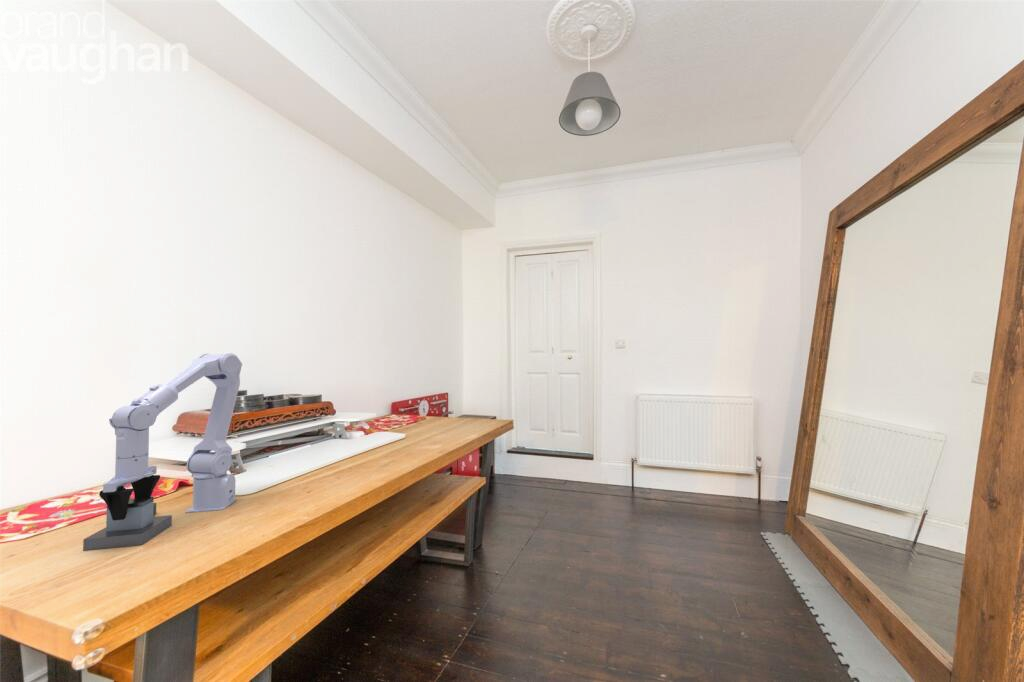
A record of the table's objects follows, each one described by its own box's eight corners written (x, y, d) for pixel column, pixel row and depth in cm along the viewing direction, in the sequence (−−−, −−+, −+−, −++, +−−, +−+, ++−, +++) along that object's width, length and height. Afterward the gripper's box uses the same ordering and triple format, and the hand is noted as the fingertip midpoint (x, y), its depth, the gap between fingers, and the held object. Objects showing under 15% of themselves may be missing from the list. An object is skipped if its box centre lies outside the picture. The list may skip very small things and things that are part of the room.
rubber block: (156, 513, 109) (156, 502, 109) (152, 518, 106) (152, 507, 106) (136, 516, 107) (137, 505, 107) (131, 521, 104) (132, 510, 104)
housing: (119, 524, 96) (119, 499, 96) (153, 521, 97) (153, 496, 97) (106, 531, 92) (106, 505, 92) (141, 528, 93) (142, 502, 94)
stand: (171, 525, 101) (171, 515, 101) (141, 545, 90) (141, 533, 90) (120, 529, 99) (120, 519, 99) (83, 550, 88) (83, 539, 88)
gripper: (130, 462, 89) (128, 523, 88) (170, 447, 103) (169, 500, 103) (92, 464, 87) (90, 527, 87) (138, 449, 102) (137, 503, 101)
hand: (131, 513), depth 95 cm, fingers open, 7 cm apart
